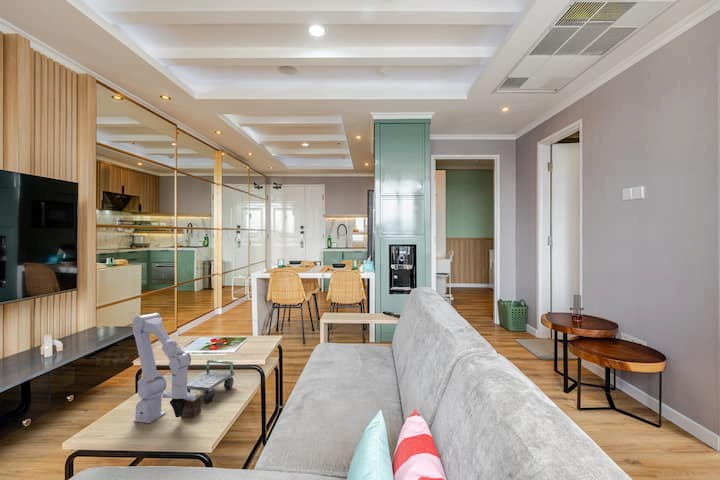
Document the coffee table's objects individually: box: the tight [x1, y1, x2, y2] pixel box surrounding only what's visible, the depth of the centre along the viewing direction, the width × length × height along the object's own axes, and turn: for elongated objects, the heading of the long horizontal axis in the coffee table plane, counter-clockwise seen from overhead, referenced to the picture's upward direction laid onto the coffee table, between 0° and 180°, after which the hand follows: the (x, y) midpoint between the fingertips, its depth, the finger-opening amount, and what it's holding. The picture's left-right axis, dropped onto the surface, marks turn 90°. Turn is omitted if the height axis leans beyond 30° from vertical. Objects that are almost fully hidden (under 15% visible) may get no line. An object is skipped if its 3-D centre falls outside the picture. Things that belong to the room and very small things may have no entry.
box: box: [180, 395, 202, 419], centre depth 151 cm, size 6×6×7 cm
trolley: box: [187, 359, 235, 404], centre depth 173 cm, size 23×16×14 cm
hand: (178, 416), depth 143 cm, fingers closed
